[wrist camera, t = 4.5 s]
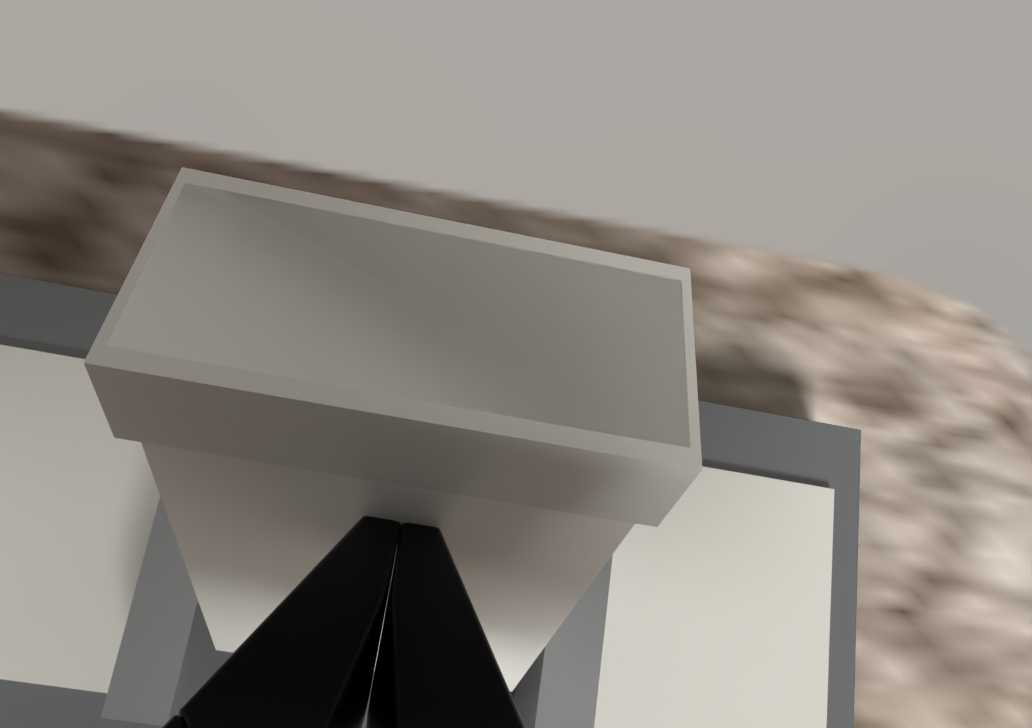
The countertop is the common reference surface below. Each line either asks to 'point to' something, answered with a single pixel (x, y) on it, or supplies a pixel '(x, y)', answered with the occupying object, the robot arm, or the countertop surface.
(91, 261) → the countertop surface
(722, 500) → the grey stand base
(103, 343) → the handle
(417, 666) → the robot arm
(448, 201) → the countertop surface
